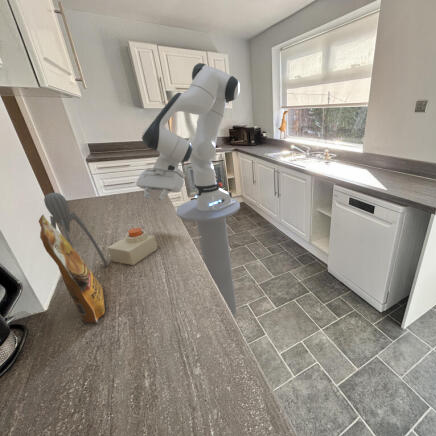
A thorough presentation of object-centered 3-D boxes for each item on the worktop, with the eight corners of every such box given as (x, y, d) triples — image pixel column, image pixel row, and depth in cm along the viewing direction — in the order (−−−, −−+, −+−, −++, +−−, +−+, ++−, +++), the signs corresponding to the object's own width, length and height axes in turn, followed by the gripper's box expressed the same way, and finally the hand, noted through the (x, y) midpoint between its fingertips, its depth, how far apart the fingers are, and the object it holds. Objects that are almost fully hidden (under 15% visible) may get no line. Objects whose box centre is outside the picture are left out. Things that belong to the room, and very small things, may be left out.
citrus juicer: (107, 265, 88) (77, 187, 76) (108, 279, 81) (75, 195, 68) (67, 276, 82) (27, 193, 69) (64, 293, 75) (19, 203, 62)
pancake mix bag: (75, 335, 61) (24, 240, 49) (77, 293, 75) (38, 211, 63) (107, 322, 65) (67, 231, 53) (104, 284, 78) (71, 205, 67)
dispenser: (138, 244, 101) (133, 228, 98) (158, 248, 99) (153, 231, 95) (112, 261, 91) (105, 242, 87) (133, 265, 88) (127, 246, 85)
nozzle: (136, 231, 96) (134, 227, 95) (145, 233, 95) (143, 228, 94) (126, 236, 92) (125, 232, 91) (136, 238, 91) (134, 233, 90)
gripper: (139, 164, 104) (126, 193, 99) (180, 167, 99) (168, 197, 94) (150, 172, 109) (138, 199, 105) (189, 175, 105) (178, 204, 100)
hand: (153, 198), depth 100 cm, fingers open, 5 cm apart
